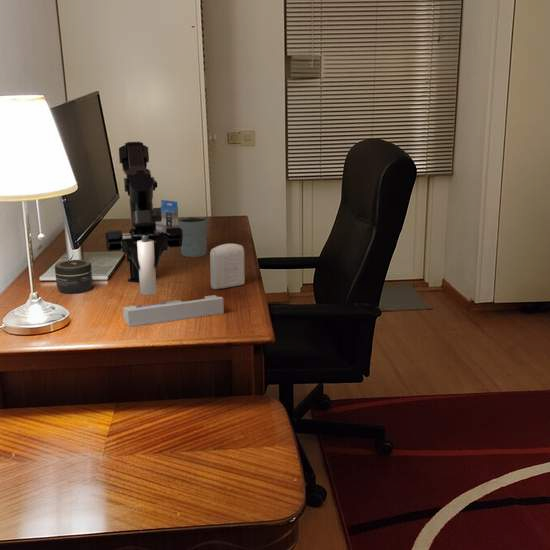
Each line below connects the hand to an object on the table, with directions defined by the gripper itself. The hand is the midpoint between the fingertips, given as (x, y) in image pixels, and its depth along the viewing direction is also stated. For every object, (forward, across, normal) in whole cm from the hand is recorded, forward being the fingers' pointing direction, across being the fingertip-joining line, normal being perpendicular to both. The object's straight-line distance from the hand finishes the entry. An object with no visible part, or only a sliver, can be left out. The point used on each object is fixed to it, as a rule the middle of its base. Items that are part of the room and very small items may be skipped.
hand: (147, 268), depth 167 cm
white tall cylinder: (+4, 0, +6) cm, 7 cm away
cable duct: (+9, +6, +9) cm, 14 cm away
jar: (-12, -19, +31) cm, 38 cm away
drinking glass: (-35, +18, +54) cm, 67 cm away
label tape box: (-61, +12, +80) cm, 101 cm away
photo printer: (-7, +23, +25) cm, 35 cm away
